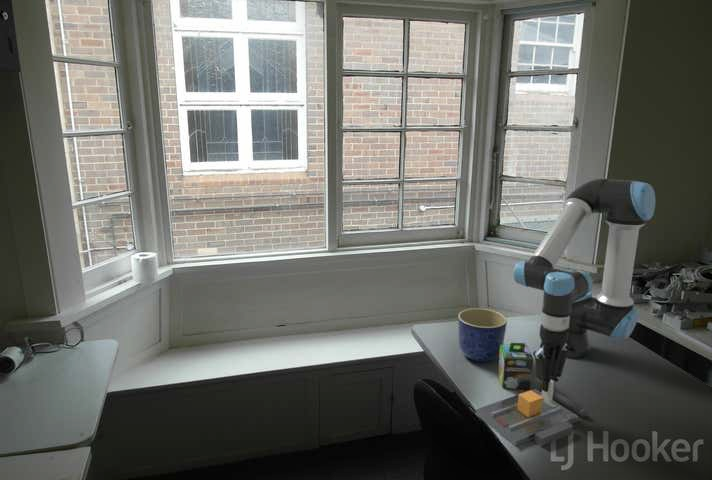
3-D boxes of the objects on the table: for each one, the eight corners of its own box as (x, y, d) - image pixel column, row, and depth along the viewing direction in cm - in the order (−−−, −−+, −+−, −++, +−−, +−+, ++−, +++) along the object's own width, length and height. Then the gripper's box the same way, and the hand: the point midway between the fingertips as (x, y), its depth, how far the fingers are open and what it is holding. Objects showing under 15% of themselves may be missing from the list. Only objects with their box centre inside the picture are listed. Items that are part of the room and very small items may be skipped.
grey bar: (534, 441, 130) (535, 433, 130) (565, 428, 135) (566, 421, 135) (541, 446, 128) (541, 438, 128) (572, 433, 133) (573, 425, 133)
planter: (501, 371, 166) (504, 330, 162) (452, 362, 172) (454, 323, 168) (505, 349, 181) (509, 311, 177) (460, 342, 187) (462, 305, 183)
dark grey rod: (541, 393, 153) (541, 386, 152) (546, 391, 154) (547, 384, 153) (582, 419, 139) (583, 412, 139) (588, 417, 140) (588, 410, 140)
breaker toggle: (517, 409, 141) (518, 394, 140) (529, 404, 143) (530, 390, 142) (528, 417, 137) (529, 402, 136) (541, 412, 140) (542, 397, 138)
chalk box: (525, 375, 163) (528, 335, 159) (531, 390, 154) (535, 348, 150) (497, 374, 164) (500, 334, 160) (501, 388, 155) (505, 347, 151)
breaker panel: (475, 414, 142) (476, 407, 142) (534, 393, 153) (535, 386, 152) (515, 446, 128) (516, 438, 128) (577, 420, 139) (578, 413, 138)
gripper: (548, 336, 131) (540, 412, 137) (581, 326, 137) (572, 400, 143) (527, 325, 137) (520, 398, 143) (559, 317, 143) (552, 387, 149)
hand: (546, 399), depth 143 cm, fingers closed
